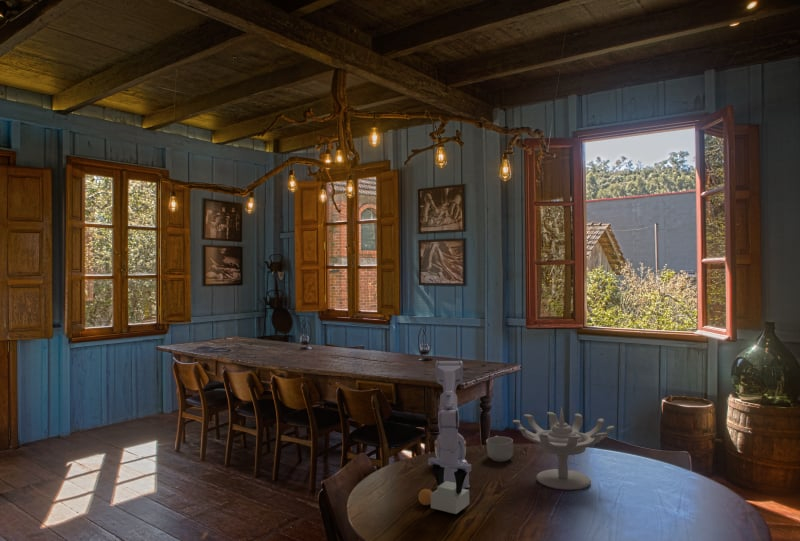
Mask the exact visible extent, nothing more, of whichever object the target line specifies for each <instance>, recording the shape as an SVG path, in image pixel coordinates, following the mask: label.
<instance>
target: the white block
mask: <svg viewBox="0 0 800 541" xmlns="http://www.w3.org/2000/svg"><path fill="white" fill-rule="evenodd" d="M469 505H470V489H466V488H462V492H461V493H459V494H457V492H456V483H454V482H449V481H445V482H444V483H442V484H441V485H439V486H438V485H437V488H436V490H434V491H432V493H431V504H430V508H431V509H435V510H438V511H442V512H446V513H450V514H455V515H457V514H458V513H460V512H461V511H462V510H464V509H465V508H466V507H468V506H469Z"/></svg>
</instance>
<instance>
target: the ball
mask: <svg viewBox="0 0 800 541" xmlns="http://www.w3.org/2000/svg"><path fill="white" fill-rule="evenodd" d="M431 493H433V491H432V490H431V489H428V488H423V489H421V490H420V491H419V493H418V501H419V503H420V504H421V505H422V506H429V505H430V506H431Z"/></svg>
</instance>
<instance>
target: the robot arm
mask: <svg viewBox="0 0 800 541" xmlns="http://www.w3.org/2000/svg"><path fill="white" fill-rule="evenodd" d="M434 369H435V370H434V371H435V379H436V382H437V383H436V384H439V385H441V386H442V391H443V392H442V393H440V396H439V411H438V413H437V426H438V436H437V438H436V440H437V457H432V456H431V457H429V458H428V459H427V463H428V465H429V466H432V467H431V468H430V471H431V473H432V474H433V477H434V478H435V481H436V484H437V487H438V486H439V485H441V484H442V483H444V482H445V481H449V482H454V483H456V492H457V494H459V493H461V492H462V489H466V488H470V487H471V486H470V472H472V464H471V463H468V461H467V460H466V459H465V458H466V454H465V448H464V440H465V438H464V436H463V435H462V434H460V433H459V432H458V431H459V426H460V413H459V412H460V411H459V408H458V395H457V394H456V393H457V392H456V390H457V387H458V386H459V385H461V384H463V382H464V380H463V378H464V363H463V361H462V360H436V361H435V363H434ZM458 441H460V442H458Z"/></svg>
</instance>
